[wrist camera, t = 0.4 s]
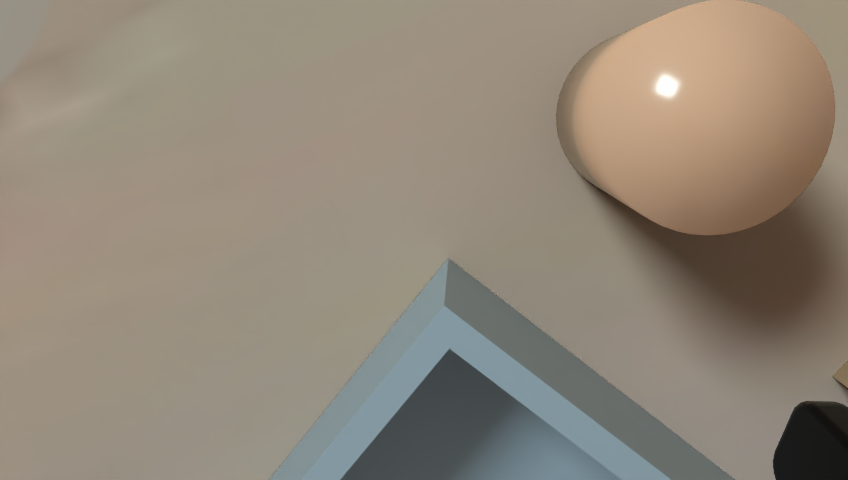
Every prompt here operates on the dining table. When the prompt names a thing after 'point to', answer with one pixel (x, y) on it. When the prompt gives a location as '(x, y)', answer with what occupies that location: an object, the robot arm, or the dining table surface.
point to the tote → (484, 406)
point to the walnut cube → (842, 375)
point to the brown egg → (701, 116)
